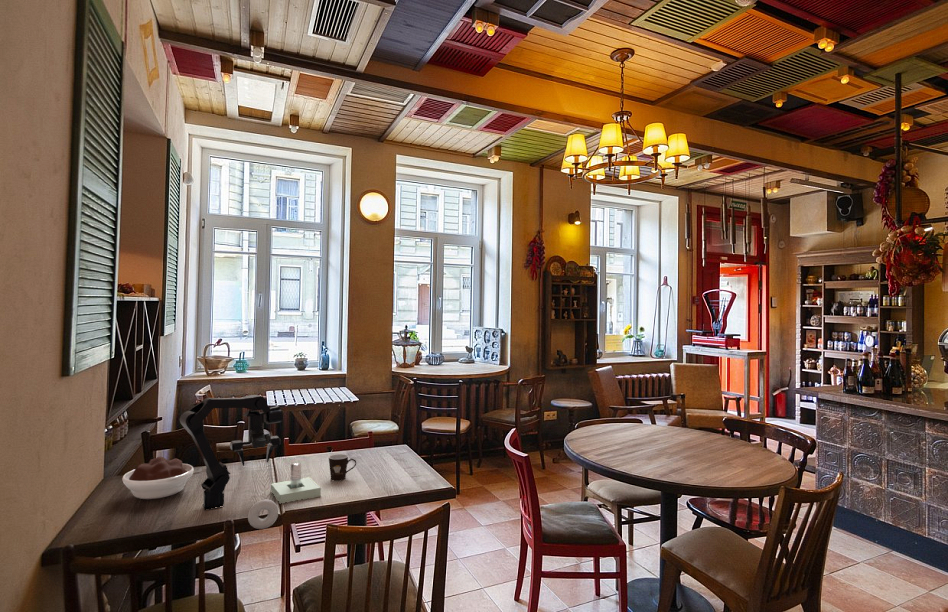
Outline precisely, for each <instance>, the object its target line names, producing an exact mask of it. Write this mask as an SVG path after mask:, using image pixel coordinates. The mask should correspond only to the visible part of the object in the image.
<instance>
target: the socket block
mask: <svg viewBox="0 0 948 612" xmlns="http://www.w3.org/2000/svg"><path fill="white" fill-rule="evenodd" d="M290 484H291V479H290V480H285V481H280V482H275V483H271V485H270V492H272V493H273V494H274V495H273V494H272V493H271V494H272V495H273V497H274V496H275V497H276V498H277V499H276V498H275V497H274V498H275V499H276V500H277V502H278V501H279V502H278V504H280V505H281V503H282V504H286V503H285V502H287V503H290V502H289V501H293V502H296V501H295V500H298V501H302V500H301V499H303V500H308V499H307V498H309V499H313V498H317V497H321V496H322V495H321V494H322V493H321V489H322V488H321V486H320V485H319V484H317V483H316V482H315V481H314V480H313V479H312V478H311V477H303V478H302V477H301V487H299V488H293V489H290Z"/></svg>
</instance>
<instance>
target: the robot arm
mask: <svg viewBox="0 0 948 612" xmlns="http://www.w3.org/2000/svg"><path fill="white" fill-rule="evenodd" d="M240 408H242V409H247V410H246V411H245V412H244V413H243V415H242V416H243V417H248V427H247V428H248V438H247V439H248V441H242V440H241V439H239V440H231V441H230V442H229V443H230V444H229V449H230V450H231V451H233V452H235V453H237V454H238V455H239V458H240V462H241V464H242V467H244V466H245V458H244V457H245V455H244V454H245V453H244V449H243V448H245V447H252V448H253V449H258V448H265V447H266V463H269V461H270V458H271V456H272V453H273V451H274V449H275V448H278V446H280V445H281V444H282V443H281V442H282V440H281V438H280V437H279V435H271V433H265V431H264V430H265V427H264V423H265V424H266V425H271V424H277V423H281V422H282V421H283V419H284V414H283V411H282V410H281V406H278V405H277V406H273V407H270V406H269V404H267V401H266V398H265V397H264V396H262V395H258V394H250V395H245V396H242V397H206V398H204V399H203V400H202V401H200V402H199V403H197V404H196V405H194V406H192V407H191V408H190V409H189V410H187V411H184V412H183V413H182V414H181V415H180V417H179V423H180V424H181V426H182V427H183V428H184V429H185V431H187V433H188V434H189V435H190V436H191V438H192V440H193V442H194V444H195V446H196V447H197V451H198V452H199V454H200V456H201V459H202V460H203V463H204V465H205V468H206V469H205V473H206V478H205V480H204V481H202V483H201V484H200V485H201V487H202V490H203V504H202V508H203V507H204V508H203V510H204V511H207V510H206V509H209V510H212V509H211V508H215V507H220V506H223V507H224V504H225V492H224V491H225V489H226V485H227V484H228V483H229V481H230V479H231V477H230V475H231V472H229V469H228V466H227V465H226V464H225V463H222V462H221V461H218V458H217V456H216V455H215V452H214V450H213V448H212V446H211V444H210V441H209V440H208V438H207V436H206V433H205V425H204V420H205V419H206V418H207V417H208V416H209V414H210V413H211V412H212V410H214V409H240ZM252 410H253V411H252ZM266 445H267V446H266ZM220 508H221V507H220ZM215 509H216V508H215Z"/></svg>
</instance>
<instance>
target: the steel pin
mask: <svg viewBox="0 0 948 612" xmlns="http://www.w3.org/2000/svg"><path fill="white" fill-rule="evenodd" d="M301 473H302V464H301V462H292V463H290V480H291V484H290V489H293V488H299V487H301V479H302V477H301V476H302V474H301Z"/></svg>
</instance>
